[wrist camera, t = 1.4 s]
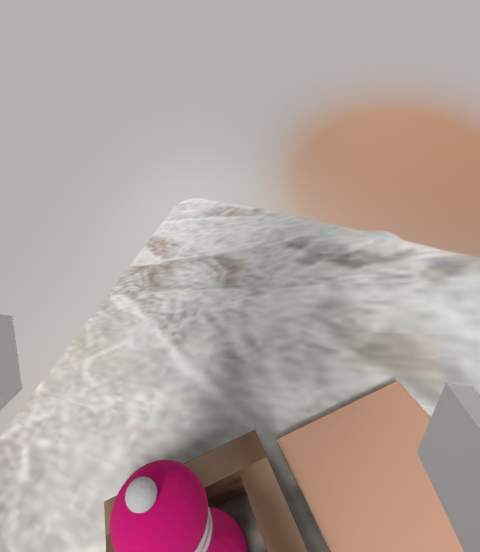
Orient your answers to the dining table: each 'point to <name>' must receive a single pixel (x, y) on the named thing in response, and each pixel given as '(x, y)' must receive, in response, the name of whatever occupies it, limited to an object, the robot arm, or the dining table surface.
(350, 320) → the dining table surface
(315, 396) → the dining table surface
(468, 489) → the robot arm
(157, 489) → the pepper mill
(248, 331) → the dining table surface
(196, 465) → the walnut holder
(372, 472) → the terracotta tile
